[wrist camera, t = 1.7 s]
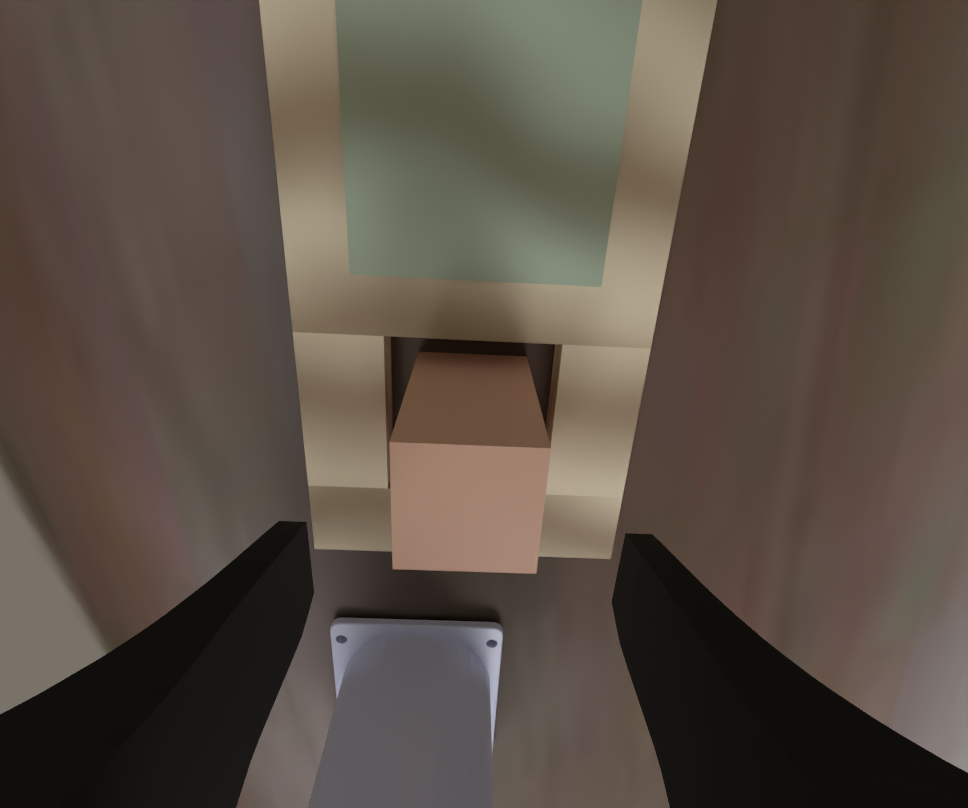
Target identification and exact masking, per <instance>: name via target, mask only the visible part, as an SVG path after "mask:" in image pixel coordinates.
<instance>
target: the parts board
mask: <svg viewBox="0 0 968 808" xmlns="http://www.w3.org/2000/svg"><path fill="white" fill-rule="evenodd" d="M259 5H260V15H261V25H262V35H263V44H264V54H265V64H266V74H267V84H268V94H269V104H270V114H271V123H272V133H273V143H274V153H275V163H276V173H277V183H278V193H279V202H280V212H281V222H282V232H283V242H284V252H285V262H286V272H287V281H288V291H289V301H290V311H291V321H292V331H293V341H294V351H295V360H296V370H297V380H298V390H299V400H300V410H301V420H302V430H303V439H304V449H305V459H306V469H307V479H308V489H309V499H310V509H311V518H312V528H313V538H314V548H315V549H332V550H362V551H391V552H392V525H391V486H390V447H389V442H390V439H391V435H392V432H393V415H392V369H391V337H411V338H432V339H454V340H475V341H497V342H518V343H540V344H555V350H554V359H553V368H552V377H551V386H550V395H549V404H548V412H547V421H546V431H547V435H548V438H549V442H550V446H551V454H550V463H549V471H548V479H547V488H546V496H545V505H544V513H543V521H542V530H541V538H540V546H539V555H538V556H540V557H569V558H599V559H611V554H612V549H613V544H614V539H615V533H616V528H617V523H618V518H619V512H620V507H621V502H622V497H623V492H624V486H625V481H626V476H627V471H628V465H629V460H630V455H631V450H632V444H633V439H634V434H635V429H636V424H637V418H638V413H639V408H640V403H641V397H642V392H643V387H644V382H645V376H646V371H647V366H648V361H649V355H650V350H651V345H652V340H653V335H654V329H655V324H656V319H657V314H658V308H659V303H660V298H661V293H662V287H663V282H664V277H665V272H666V267H667V261H668V256H669V251H670V246H671V240H672V235H673V230H674V225H675V219H676V214H677V209H678V204H679V199H680V193H681V188H682V183H683V178H684V172H685V167H686V162H687V157H688V151H689V146H690V141H691V136H692V130H693V125H694V120H695V115H696V110H697V104H698V99H699V94H700V89H701V83H702V78H703V73H704V68H705V62H706V57H707V52H708V47H709V42H710V36H711V31H712V26H713V21H714V15H715V10H716V5H717V0H259Z"/></svg>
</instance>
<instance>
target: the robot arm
mask: <svg viewBox="0 0 968 808" xmlns="http://www.w3.org/2000/svg"><path fill="white" fill-rule="evenodd" d="M313 594H314V588H313V579H312V569H311V560H310V551H309V541H308V532H307V523H306V522H290V521H279V522H277V523H276V524H275V525H274V526H273V527H271V528H270V529H269V530H268V531H267V532H266V533H264V534H263V535H262V536H261V537H260V538H259V539H257V540H256V541H255V542H254V543H253V544H252V545H251V546H249V547H248V548H247V549H246V550H245V551H244V552H242V553H241V554H240V555H239V556H238V557H237V558H236V559H234V560H233V561H232V562H231V563H230V564H228V565H227V566H226V567H225V568H224V569H222V570H221V571H220V572H219V573H218V574H216V575H215V576H214V577H213V578H212V579H210V580H209V581H208V582H207V583H206V584H204V585H203V586H202V587H201V588H199V589H198V590H197V591H195V592H194V593H193V594H192V595H190V596H189V597H188V598H186V599H185V600H184V601H182V602H181V603H180V604H179V605H177V606H176V607H175V608H173V609H172V610H171V611H169V612H168V613H167V614H166V615H164V616H163V617H161V618H160V619H159V620H157V621H156V622H154V623H153V624H152V625H150V626H149V627H147V628H146V629H144V630H143V631H141V632H140V633H138V634H137V635H135V636H134V637H132V638H131V639H129V640H128V641H126V642H125V643H123V644H122V645H120V646H119V647H117V648H116V649H114V650H113V651H111V652H109V653H108V654H106V655H105V656H103V657H102V658H100V659H98V660H96V661H95V662H93V663H91V664H90V665H88V666H86V667H85V668H83V669H81V670H80V671H78V672H76V673H74V674H73V675H71V676H69V677H68V678H66V679H64V680H62V681H61V682H59V683H57V684H56V685H54V686H52V687H50V688H49V689H47V690H45V691H44V692H42V693H40V694H38V695H36V696H35V697H32V698H31V699H29V700H27V701H25V702H23V703H21V704H19V705H18V706H16V707H14V708H12V709H10V710H8V711H6V712H4V713H2V714H0V808H236V806H237V803H238V799H239V796H240V793H241V790H242V787H243V784H244V780H245V777H246V774H247V771H248V768H249V765H250V762H251V759H252V756H253V754H254V751H255V748H256V746H257V743H258V740H259V738H260V735H261V733H262V731H263V728H264V726H265V723H266V721H267V719H268V716H269V714H270V711H271V709H272V707H273V704H274V702H275V700H276V697H277V695H278V692H279V690H280V688H281V685H282V683H283V680H284V678H285V676H286V673H287V671H288V668H289V666H290V664H291V661H292V659H293V656H294V654H295V651H296V649H297V647H298V644H299V642H300V639H301V637H302V633H303V630H304V627H305V623H306V620H307V616H308V613H309V609H310V605H311V602H312V598H313ZM612 606H613V611H614V616H615V621H616V626H617V631H618V636H619V640H620V645H621V648H622V651H623V655H624V658H625V661H626V664H627V667H628V670H629V673H630V676H631V679H632V682H633V685H634V688H635V691H636V694H637V697H638V700H639V703H640V706H641V709H642V712H643V715H644V718H645V721H646V724H647V727H648V730H649V733H650V736H651V739H652V742H653V745H654V748H655V751H656V755H657V758H658V761H659V765H660V768H661V772H662V776H663V780H664V784H665V788H666V793H667V797H668V801H669V805H670V808H968V773H967V772H965V771H963V770H961V769H959V768H957V767H956V766H954V765H952V764H950V763H948V762H946V761H945V760H943V759H941V758H939V757H938V756H936V755H934V754H933V753H931V752H929V751H927V750H926V749H924V748H922V747H921V746H919V745H917V744H915V743H914V742H912V741H910V740H909V739H907V738H905V737H904V736H902V735H900V734H898V733H897V732H895V731H894V730H892V729H890V728H889V727H887V726H886V725H884V724H882V723H881V722H879V721H877V720H876V719H874V718H873V717H871V716H870V715H868V714H866V713H865V712H863V711H862V710H860V709H859V708H857V707H856V706H854V705H853V704H851V703H850V702H848V701H847V700H845V699H844V698H842V697H841V696H839V695H838V694H836V693H835V692H833V691H832V690H830V689H829V688H828V687H826V686H825V685H823V684H822V683H821V682H819V681H818V680H816V679H815V678H813V677H812V676H811V675H809V674H808V673H807V672H805V671H804V670H803V669H801V668H800V667H799V666H797V665H796V664H795V663H793V662H792V661H791V660H790V659H788V658H787V657H786V656H784V655H783V654H782V653H780V652H779V651H778V650H776V649H775V648H774V647H773V646H771V645H770V644H769V643H768V642H767V641H765V640H764V639H763V638H762V637H760V636H759V635H758V634H757V633H756V632H755V631H753V630H752V629H751V628H750V627H749V626H748V625H747V624H745V623H744V622H743V621H742V620H741V619H740V618H738V617H737V616H736V615H735V614H734V613H733V612H732V611H731V610H729V609H728V608H727V607H726V606H725V605H724V604H723V603H722V602H721V601H720V600H719V599H717V598H716V597H715V596H714V595H713V594H712V593H711V592H710V591H709V590H708V589H707V588H706V587H705V586H704V585H703V584H702V583H701V582H700V581H699V580H698V579H697V578H696V577H695V576H694V575H693V574H692V573H691V572H690V571H689V570H688V569H687V568H686V567H685V566H684V565H683V564H682V563H681V562H680V561H679V560H678V559H677V558H676V557H675V556H674V555H673V554H672V553H671V552H670V551H669V550H668V549H667V548H666V547H665V546H664V545H663V544H662V543H661V542H660V541H659V540H658V539H656V538H655V537H654V536H653V535H652V534H628V533H626V534H625V539H624V544H623V549H622V553H621V558H620V563H619V568H618V573H617V578H616V583H615V588H614V593H613V598H612ZM330 635H331V645H332V656H333V667H334V677H335V688H336V699H337V701H336V704H335V708H334V712H333V716H332V719H331V723H330V727H329V731H328V734H327V738H326V742H325V746H324V749H323V753H322V757H321V761H320V764H319V768H318V772H317V776H316V779H315V783H314V787H313V791H312V794H311V798H310V802H309V806H308V808H493V776H492V751H493V740H494V729H495V718H496V707H497V696H498V685H499V674H500V663H501V652H502V641H503V629H502V626H501V625H500V624H498V623H495V622H476V621H442V620H409V619H375V618H337V619H335V620H334V621H333V622H332V625H331V628H330ZM340 635H342V636H340ZM343 636H345V637H343ZM489 640H494V641H489Z"/></svg>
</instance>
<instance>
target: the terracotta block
mask: <svg viewBox="0 0 968 808" xmlns="http://www.w3.org/2000/svg"><path fill="white" fill-rule="evenodd" d="M389 447H390V486H391V525H392V563H393V569H403V570H434V571H466V572H498V573H529V574H536V572H537V563H538V555H539V546H540V538H541V530H542V521H543V513H544V505H545V496H546V488H547V479H548V471H549V463H550V454H551V446H550V442H549V438H548V435H547V431H546V427H545V423H544V420H543V416H542V412H541V408H540V405H539V401H538V397H537V393H536V390H535V386H534V382H533V378H532V375H531V371H530V367H529V364H528V360H527V356H506V355H484V354H462V353H440V352H418V355H417V358H416V361H415V364H414V367H413V370H412V373H411V376H410V380H409V383H408V386H407V389H406V392H405V395H404V398H403V401H402V404H401V407H400V411H399V414H398V417H397V420H396V423H395V426H394V429H393V432H392V435H391V439H390V442H389Z"/></svg>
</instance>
